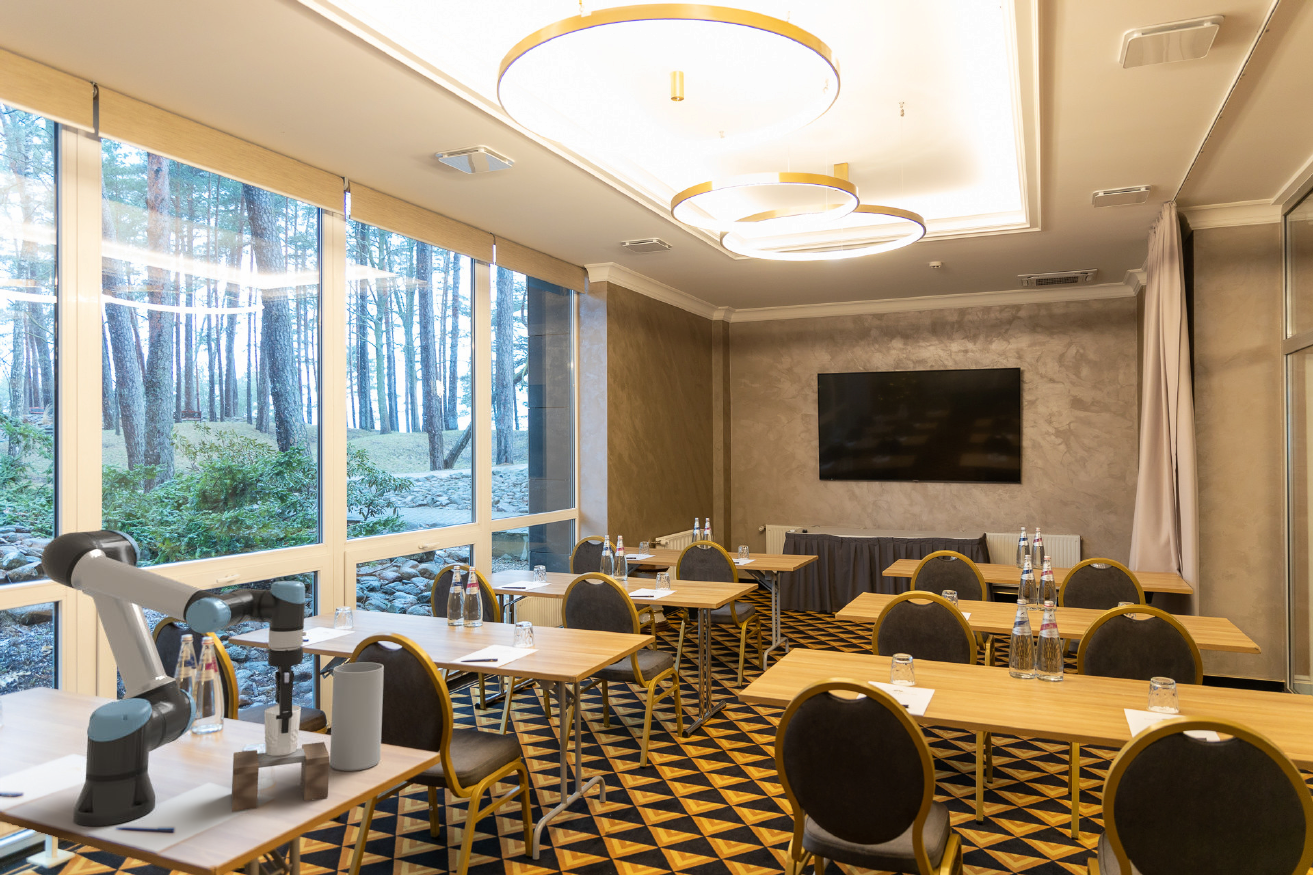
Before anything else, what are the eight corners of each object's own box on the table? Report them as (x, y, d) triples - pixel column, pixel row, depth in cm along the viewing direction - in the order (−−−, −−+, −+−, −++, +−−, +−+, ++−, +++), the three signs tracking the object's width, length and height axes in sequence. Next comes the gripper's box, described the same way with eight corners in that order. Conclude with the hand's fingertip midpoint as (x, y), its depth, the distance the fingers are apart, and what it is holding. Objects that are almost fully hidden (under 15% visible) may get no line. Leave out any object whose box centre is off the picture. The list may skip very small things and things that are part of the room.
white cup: (305, 747, 201) (306, 705, 202) (288, 757, 193) (290, 714, 194) (273, 745, 202) (275, 704, 202) (256, 756, 194) (258, 712, 194)
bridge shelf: (232, 811, 185) (234, 768, 186) (231, 793, 196) (233, 752, 196) (327, 797, 194) (329, 756, 195) (322, 780, 205) (324, 741, 205)
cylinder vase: (361, 774, 210) (365, 674, 212) (319, 768, 214) (323, 670, 215) (389, 758, 222) (393, 664, 224) (349, 753, 226) (353, 660, 227)
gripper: (307, 656, 188) (303, 751, 186) (298, 637, 210) (295, 722, 208) (271, 658, 184) (266, 755, 183) (266, 639, 206) (262, 725, 205)
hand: (281, 738), depth 196 cm, fingers open, 13 cm apart
